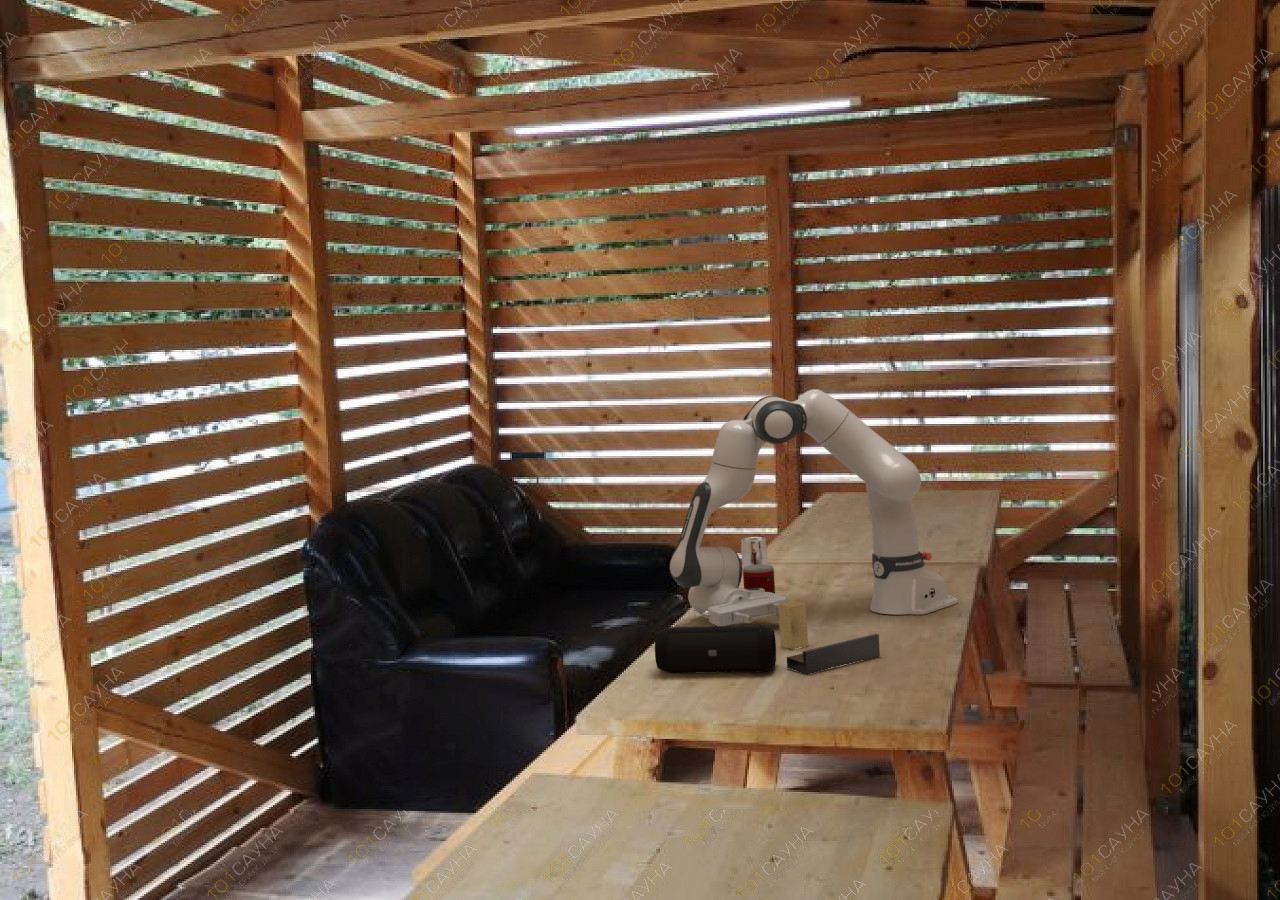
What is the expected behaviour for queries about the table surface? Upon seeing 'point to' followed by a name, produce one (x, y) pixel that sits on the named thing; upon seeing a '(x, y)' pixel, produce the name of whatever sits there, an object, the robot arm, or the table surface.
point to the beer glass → (753, 551)
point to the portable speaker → (715, 649)
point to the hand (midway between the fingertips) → (766, 615)
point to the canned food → (759, 577)
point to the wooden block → (793, 624)
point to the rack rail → (835, 654)
